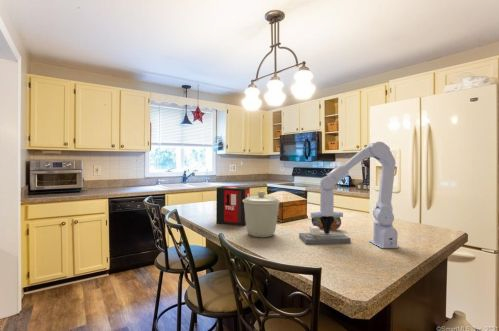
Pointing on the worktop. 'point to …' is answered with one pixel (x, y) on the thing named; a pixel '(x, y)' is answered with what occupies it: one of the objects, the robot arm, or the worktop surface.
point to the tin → (334, 226)
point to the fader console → (324, 238)
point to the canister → (261, 214)
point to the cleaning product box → (231, 205)
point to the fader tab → (314, 230)
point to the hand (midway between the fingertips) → (326, 233)
